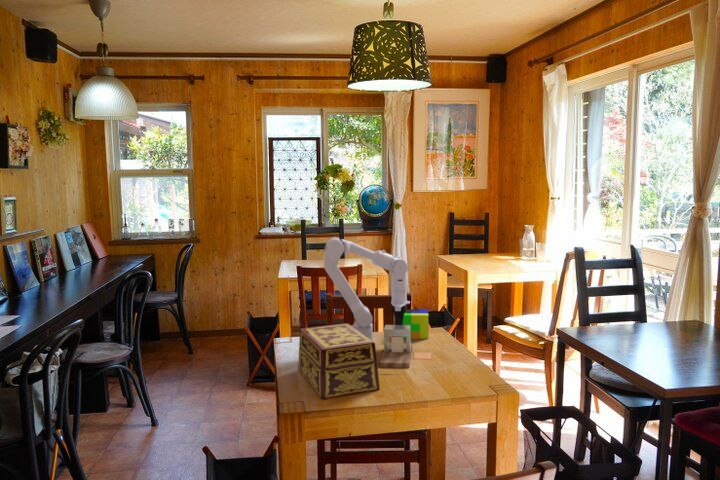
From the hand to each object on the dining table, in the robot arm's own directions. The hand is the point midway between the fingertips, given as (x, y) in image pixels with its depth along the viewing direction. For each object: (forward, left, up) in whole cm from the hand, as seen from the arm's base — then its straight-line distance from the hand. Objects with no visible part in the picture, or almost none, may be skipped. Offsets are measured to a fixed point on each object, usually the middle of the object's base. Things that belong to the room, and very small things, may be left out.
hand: (399, 325), depth 211 cm
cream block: (0, -10, -8) cm, 13 cm away
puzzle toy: (+6, +15, -9) cm, 18 cm away
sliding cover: (0, -10, -6) cm, 12 cm away
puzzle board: (0, -14, -8) cm, 17 cm away
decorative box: (-18, -36, -9) cm, 41 cm away
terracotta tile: (+9, -11, -8) cm, 17 cm away
